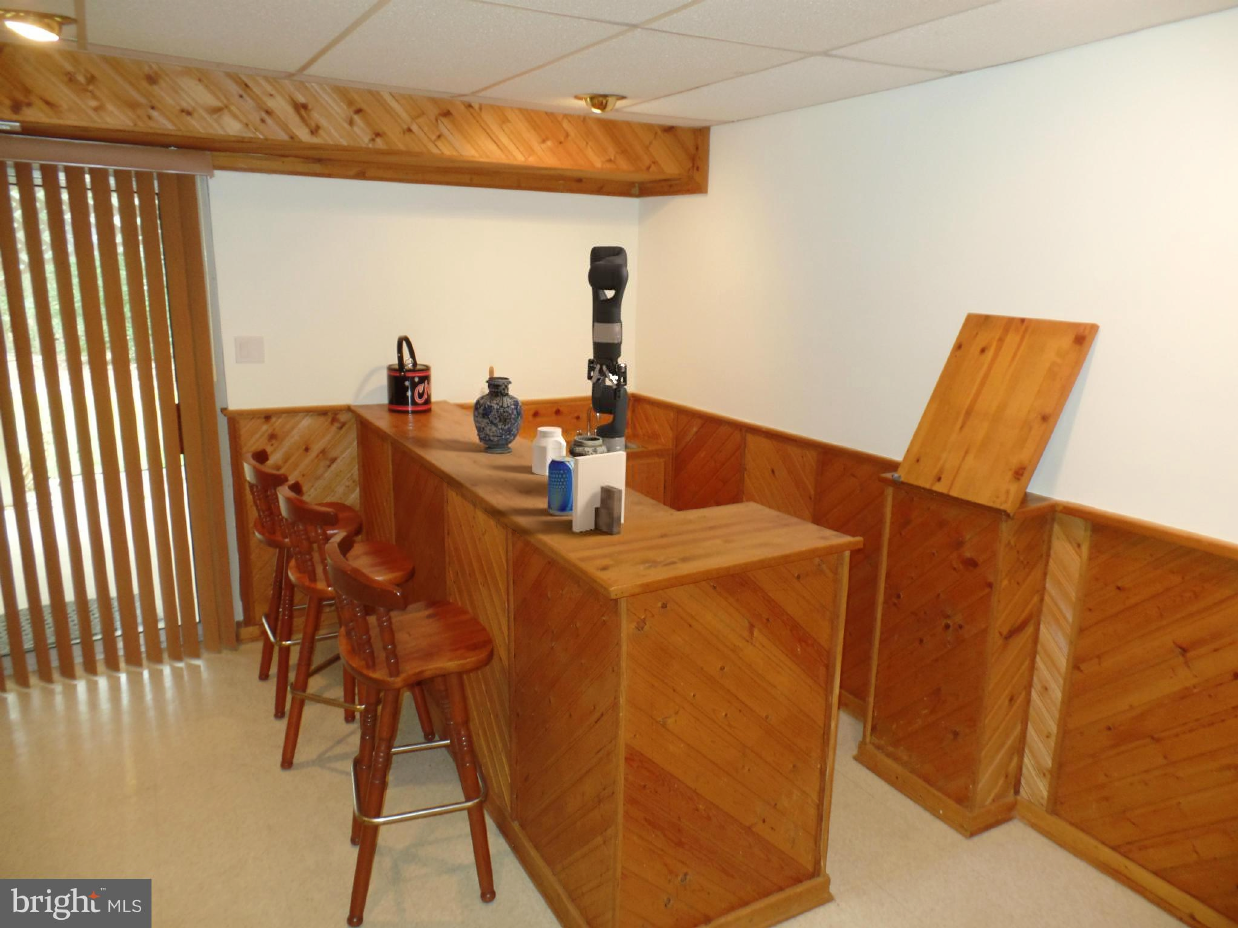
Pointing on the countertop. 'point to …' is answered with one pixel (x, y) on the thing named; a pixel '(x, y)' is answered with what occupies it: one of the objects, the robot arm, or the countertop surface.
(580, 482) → the cream plate
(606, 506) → the walnut notched block
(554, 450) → the jar
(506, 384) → the decorative vase
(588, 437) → the apothecary jar
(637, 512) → the countertop surface
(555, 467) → the beer can
